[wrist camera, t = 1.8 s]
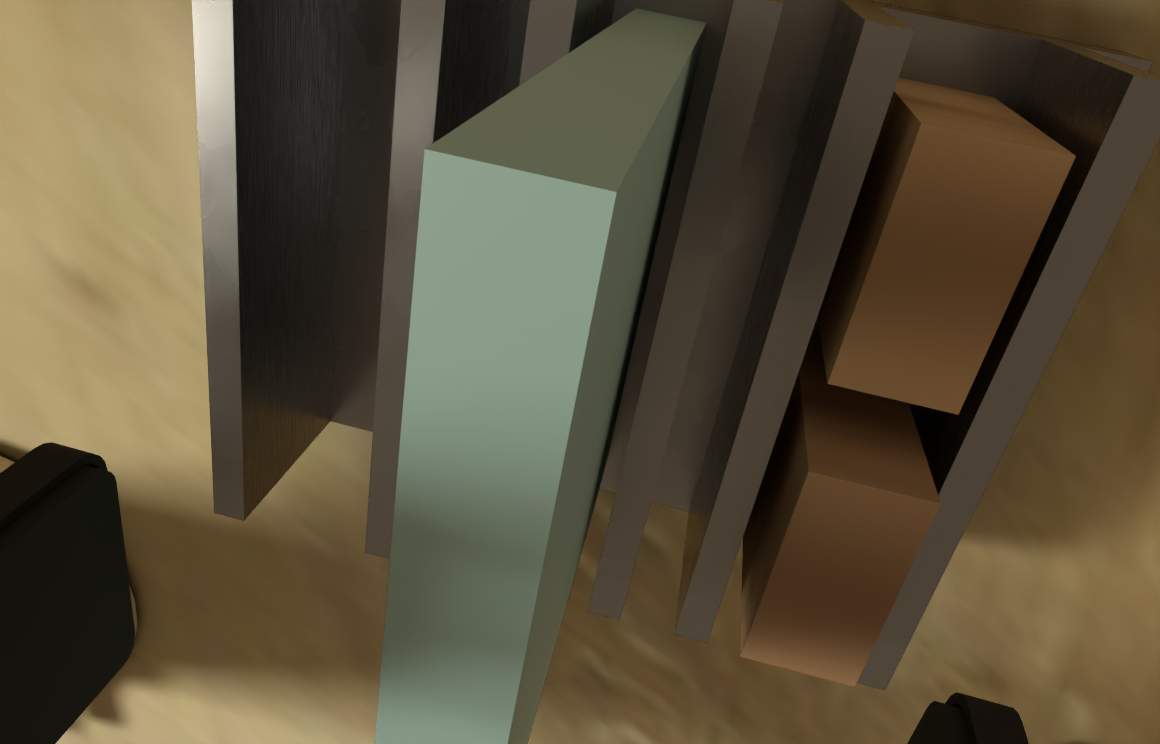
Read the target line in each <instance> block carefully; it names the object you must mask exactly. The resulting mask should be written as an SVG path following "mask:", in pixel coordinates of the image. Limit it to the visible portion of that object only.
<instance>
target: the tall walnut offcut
mask: <svg viewBox="0 0 1160 744" xmlns="http://www.w3.org/2000/svg"><path fill="white" fill-rule="evenodd" d="M940 505H941V503H940V500H939V496H938V493H937V490H936V487H935V484H934V481H933V478H932V475H931V471H930V468H929V465H928V462H927V459H926V456H925V453H924V450H923V446H922V443H921V440H920V437H919V434H918V431H917V428H916V424H915V421H914V418H913V415H912V412H911V409H910V406H909V403H907V402H902V401H898V400H894V399H890V398H885V397H881V396H877V395H873V394H869V393H864V392H860V391H856V390H852V389H848V388H843V387H839V386H835V385H831V384H828V383H827V377H826V370H825V364H824V357H823V351H822V344H821V338H820V337H819V336H815V335H811V337H810V340H809V343H808V346H807V349H806V352H805V355H804V358H803V361H802V364H801V367H800V370H799V372H798V375H797V378H796V381H795V384H794V387H793V390H792V393H791V396H790V399H789V402H788V405H787V408H786V411H785V414H784V417H783V420H782V423H781V426H780V429H779V432H778V435H777V437H776V440H775V443H774V446H773V449H772V452H771V455H770V458H769V461H768V464H767V467H766V470H765V473H764V476H763V479H762V482H761V485H760V488H759V491H758V494H757V497H756V500H755V502H754V505H753V508H752V511H751V514H750V517H749V520H748V523H747V526H746V529H745V532H744V535H743V562H742V606H741V649H740V657H743V658H747V659H751V660H755V661H758V662H762V663H766V664H770V665H774V666H777V667H781V668H785V669H789V670H792V671H796V672H800V673H804V674H808V675H811V676H815V677H819V678H823V679H826V680H830V681H834V682H838V683H842V684H845V685H849V686H853V687H855V685H856V683H857V681H858V679H859V677H860V675H861V672H862V670H863V668H864V666H865V664H866V662H867V660H868V658H869V655H870V653H871V651H872V649H873V647H874V645H875V643H876V641H877V638H878V636H879V634H880V632H881V630H882V628H883V626H884V624H885V621H886V619H887V617H888V615H889V613H890V611H891V609H892V607H893V604H894V602H895V600H896V598H897V596H898V594H899V592H900V590H901V587H902V585H903V583H904V581H905V579H906V577H907V575H908V573H909V570H910V568H911V566H912V564H913V562H914V560H915V558H916V556H917V553H918V551H919V549H920V547H921V545H922V543H923V541H924V539H925V536H926V534H927V532H928V530H929V528H930V526H931V524H932V522H933V519H934V517H935V515H936V513H937V511H938V509H939V507H940Z"/></svg>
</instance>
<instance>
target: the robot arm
mask: <svg viewBox="0 0 1160 744" xmlns="http://www.w3.org/2000/svg"><path fill="white" fill-rule="evenodd" d="M137 625H138V624H137V614H136V605H135V600H134V597H133V594H132V591H131V588H130V585H129V579H128V571H127V563H126V555H125V547H124V539H123V531H122V523H121V515H120V507H119V499H118V491H117V483H116V479H115V476H114V475H113V474H112V473H111V472H108V471H107V467H106V464H105V461H104V460H103V459H102V458H101V456H98V455H95V454H92V453H88V452H85V451H81V450H77V449H74V448H70V447H66V446H63V445H59V444H56V443H52V442H51V443H45V444H42V445H40V446H38V447H36V448H34V449H33V450H32V451H30V452H29V453H27V454H26V455H25V456H23V457H22V458H20V459H19V460H18V461H16V462H13V461H11V460H9V459H7V458H4V457H2V456H0V744H55V743H56V742H57V741H58V740H59V739H60V738H61V736H62V735H63V734H64V733H65V732H66V731H67V730H68V728H69V727H70V726H71V725H72V724H73V723H74V722H75V720H76V719H77V718H78V717H79V716H80V715H81V714H82V712H83V711H84V710H85V709H86V708H87V707H88V705H89V704H90V703H91V702H92V701H93V700H94V699H95V697H96V696H97V695H98V694H99V693H100V692H101V691H102V689H103V688H104V687H105V686H106V685H107V684H108V683H109V681H110V680H111V679H112V678H113V677H114V676H115V675H116V673H117V672H118V671H119V670H120V669H121V668H122V666H123V665H124V664H125V662H126V661H127V659H128V657H129V656H130V654H131V651H132V649H133V646H134V644H135V638H136V631H137ZM908 744H1029V743H1028V740H1027V736H1026V733H1025V730H1024V726H1023V723H1022V721H1021V718H1020V716H1019V714H1018V712H1017V711H1016V710H1015V709H1014V708H1012V707H1008V706H1004V705H1001V704H997V703H993V702H990V701H986V700H983V699H979V698H975V697H972V696H968V695H965V694H961V693H955V694H953V695H951V696H950V697H949V699H948V700H947V702H946V703H945V704H944V703H940V702H936V701H934V702H932V703H930V705H929V706H928V708H927V709H926V711H925V713H924V715H923V716H922V718H921V720H920V722H919V724H918V725H917V727H916V729H915V731H914V733H913V735H912V736H911V738H910V740H909V742H908Z"/></svg>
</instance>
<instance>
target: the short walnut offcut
mask: <svg viewBox="0 0 1160 744" xmlns="http://www.w3.org/2000/svg"><path fill="white" fill-rule="evenodd" d="M1075 157H1076V156H1075V155H1074V154H1073V153H1071V152H1070V151H1068V150H1067V149H1066V148H1064V147H1063V146H1061V145H1060V144H1059V143H1057V142H1056V141H1054V140H1053V139H1052V138H1050V137H1049V136H1047V135H1046V134H1045V133H1043V132H1042V131H1040V130H1039V129H1038V128H1036V127H1035V126H1033V125H1032V124H1031V123H1029V122H1028V121H1026V120H1025V119H1024V118H1022V117H1021V116H1019V115H1018V114H1017V113H1015V112H1014V111H1012V110H1011V109H1010V108H1008V107H1007V106H1005V105H1004V104H1003V103H1001V102H1000V101H998V100H997V99H996V98H994V97H990V96H985V95H980V94H975V93H970V92H966V91H961V90H956V89H951V88H946V87H942V86H937V85H932V84H927V83H922V82H918V81H913V80H908V79H903V78H898V80H897V83H896V86H895V89H894V92H893V95H892V98H891V101H890V104H889V107H888V110H887V112H886V115H885V118H884V121H883V124H882V127H881V130H880V133H879V136H878V139H877V142H876V145H875V148H874V151H873V154H872V157H871V160H870V163H869V166H868V169H867V172H866V175H865V177H864V180H863V183H862V186H861V189H860V192H859V195H858V198H857V201H856V204H855V207H854V210H853V213H852V216H851V219H850V222H849V225H848V228H847V231H846V234H845V237H844V240H843V242H842V245H841V248H840V251H839V254H838V257H837V260H836V263H835V266H834V269H833V272H832V275H831V278H830V281H829V284H828V287H827V290H826V293H825V296H824V299H823V302H822V305H821V307H820V310H819V313H818V316H817V318H818V325H819V331H820V338H821V344H822V351H823V357H824V364H825V370H826V377H827V383H828V384H831V385H835V386H839V387H843V388H848V389H852V390H856V391H860V392H864V393H869V394H873V395H877V396H881V397H885V398H890V399H894V400H898V401H902V402H907V403H911V404H915V405H919V406H923V407H928V408H932V409H936V410H940V411H944V412H949V413H953V414H957V415H959V412H960V410H961V408H962V406H963V404H964V401H965V399H966V397H967V395H968V393H969V390H970V388H971V386H972V384H973V382H974V379H975V377H976V375H977V373H978V371H979V368H980V366H981V364H982V362H983V360H984V357H985V355H986V353H987V351H988V349H989V346H990V344H991V342H992V340H993V338H994V335H995V333H996V331H997V329H998V327H999V324H1000V322H1001V320H1002V318H1003V315H1004V313H1005V311H1006V309H1007V307H1008V304H1009V302H1010V300H1011V298H1012V296H1013V293H1014V291H1015V289H1016V287H1017V285H1018V282H1019V280H1020V278H1021V276H1022V274H1023V271H1024V269H1025V267H1026V265H1027V263H1028V260H1029V258H1030V256H1031V254H1032V252H1033V249H1034V247H1035V245H1036V243H1037V241H1038V238H1039V236H1040V234H1041V232H1042V230H1043V227H1044V225H1045V223H1046V221H1047V219H1048V216H1049V214H1050V212H1051V210H1052V208H1053V205H1054V203H1055V201H1056V199H1057V197H1058V194H1059V192H1060V190H1061V188H1062V186H1063V183H1064V181H1065V179H1066V177H1067V175H1068V172H1069V170H1070V168H1071V166H1072V164H1073V161H1074V159H1075Z"/></svg>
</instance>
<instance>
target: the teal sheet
mask: <svg viewBox="0 0 1160 744" xmlns="http://www.w3.org/2000/svg"><path fill="white" fill-rule="evenodd" d="M706 24H707V23H705V22H701V21H696V20H691V19H686V18H681V17H676V16H672V15H667V14H662V13H657V12H652V11H647V10H642V9H638V8H636V9H635V10H633V11H632V12H630V13H629V14H627V15H626V16H624V17H623V18H621V19H620V20H618V21H617V22H615V23H614V24H612V25H611V26H609V27H608V28H606V29H605V30H603V31H602V32H600V33H598V34H597V35H595V36H594V37H592V38H591V39H589V40H588V41H586V42H585V43H583V44H582V45H580V46H579V47H577V48H576V49H574V50H573V51H571V52H570V53H568V54H567V55H565V56H564V57H562V58H561V59H559V60H558V61H556V62H555V63H553V64H552V65H550V66H549V67H547V68H546V69H544V70H543V71H541V72H540V73H538V74H537V75H535V76H534V77H532V78H531V79H529V80H528V81H526V82H525V83H523V84H522V85H520V86H519V87H517V88H516V89H514V90H513V91H511V92H510V93H508V94H507V95H505V96H504V97H502V98H501V99H499V100H498V101H496V102H495V103H493V104H492V105H490V106H489V107H487V108H486V109H484V110H483V111H481V112H480V113H478V114H477V115H475V116H474V117H472V118H471V119H469V120H468V121H466V122H465V123H463V124H462V125H460V126H459V127H457V128H456V129H454V130H453V131H451V132H450V133H448V134H447V135H445V136H443V137H442V138H440V139H439V140H437V141H436V142H434V143H433V144H431V145H430V146H428V147H427V148H425V151H424V163H423V175H422V186H421V198H420V210H419V222H418V234H417V246H416V258H415V270H414V281H413V293H412V305H411V317H410V329H409V341H408V353H407V364H406V376H405V388H404V400H403V412H402V424H401V436H400V447H399V459H398V471H397V483H396V495H395V507H394V519H393V530H392V542H391V554H390V566H389V578H388V590H387V602H386V614H385V625H384V637H383V649H382V661H381V673H380V685H379V697H378V708H377V720H376V732H375V744H528V740H529V737H530V733H531V729H532V726H533V722H534V719H535V715H536V712H537V708H538V705H539V701H540V697H541V694H542V690H543V687H544V683H545V680H546V676H547V673H548V669H549V665H550V662H551V658H552V655H553V651H554V648H555V644H556V641H557V637H558V634H559V630H560V626H561V623H562V619H563V616H564V612H565V609H566V605H567V602H568V598H569V594H570V591H571V587H572V584H573V580H574V577H575V573H576V570H577V566H578V562H579V559H580V555H581V552H582V548H583V545H584V541H585V538H586V534H587V530H588V527H589V523H590V520H591V516H592V513H593V509H594V506H595V502H596V499H597V495H598V491H599V488H600V484H601V481H602V477H603V474H604V470H605V467H606V463H607V459H608V455H609V450H610V446H611V441H612V437H613V433H614V428H615V424H616V419H617V415H618V411H619V406H620V402H621V397H622V393H623V389H624V384H625V380H626V375H627V371H628V367H629V362H630V358H631V353H632V349H633V345H634V340H635V336H636V331H637V327H638V323H639V318H640V314H641V310H642V305H643V301H644V296H645V292H646V288H647V283H648V279H649V274H650V270H651V266H652V261H653V257H654V252H655V248H656V244H657V239H658V235H659V230H660V226H661V222H662V217H663V213H664V208H665V204H666V200H667V195H668V191H669V186H670V182H671V178H672V173H673V169H674V165H675V160H676V156H677V151H678V147H679V143H680V138H681V134H682V129H683V125H684V121H685V116H686V112H687V107H688V103H689V99H690V94H691V90H692V85H693V81H694V77H695V72H696V68H697V63H698V59H699V55H700V50H701V46H702V41H703V37H704V33H705V28H706Z"/></svg>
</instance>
